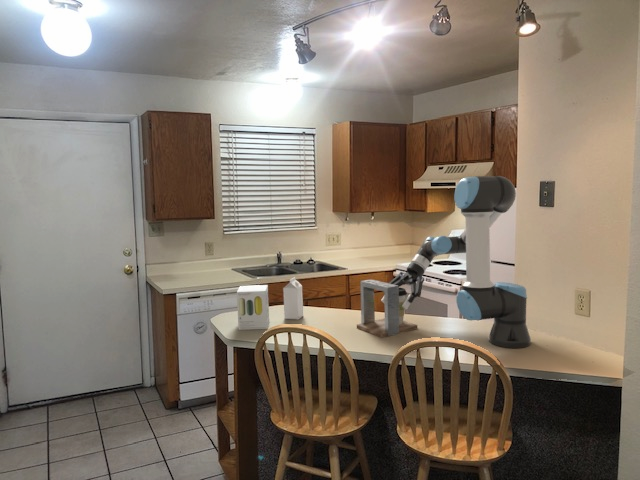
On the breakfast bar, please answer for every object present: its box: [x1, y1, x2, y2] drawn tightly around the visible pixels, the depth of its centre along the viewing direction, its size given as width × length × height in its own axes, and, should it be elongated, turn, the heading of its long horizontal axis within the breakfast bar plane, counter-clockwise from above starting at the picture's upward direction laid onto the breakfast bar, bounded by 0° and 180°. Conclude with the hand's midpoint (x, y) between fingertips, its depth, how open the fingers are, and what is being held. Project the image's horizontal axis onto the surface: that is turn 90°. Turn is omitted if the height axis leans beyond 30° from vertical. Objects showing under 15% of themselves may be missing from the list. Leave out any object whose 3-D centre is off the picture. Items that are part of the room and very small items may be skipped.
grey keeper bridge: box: [360, 278, 400, 337], centre depth 218 cm, size 18×6×20 cm, turn 33°
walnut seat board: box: [356, 317, 418, 338], centre depth 222 cm, size 17×20×2 cm
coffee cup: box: [399, 287, 408, 324], centre depth 223 cm, size 10×10×15 cm
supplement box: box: [236, 284, 270, 331], centre depth 231 cm, size 13×13×18 cm
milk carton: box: [282, 276, 304, 320], centre depth 242 cm, size 7×7×19 cm
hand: (393, 305), depth 222 cm, fingers open, 13 cm apart
